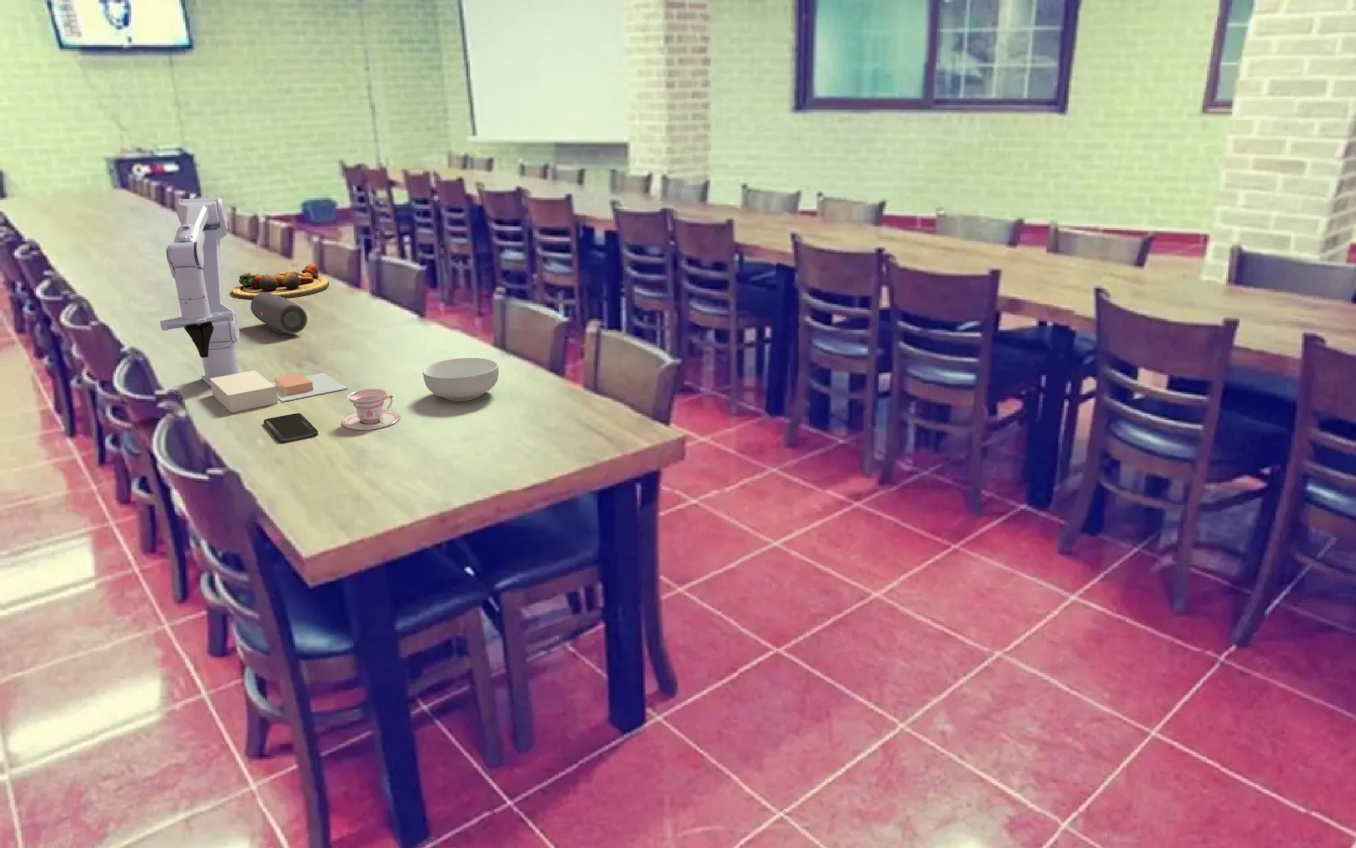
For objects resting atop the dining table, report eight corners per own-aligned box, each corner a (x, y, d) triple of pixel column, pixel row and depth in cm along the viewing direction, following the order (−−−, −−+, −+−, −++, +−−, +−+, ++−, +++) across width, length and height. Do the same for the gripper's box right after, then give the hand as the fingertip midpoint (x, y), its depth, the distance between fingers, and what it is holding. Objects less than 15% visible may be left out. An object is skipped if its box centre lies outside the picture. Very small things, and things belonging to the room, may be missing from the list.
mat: (261, 385, 224) (261, 384, 224) (324, 373, 232) (324, 372, 232) (282, 402, 212) (282, 401, 212) (347, 389, 221) (347, 387, 221)
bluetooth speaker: (251, 326, 279) (245, 293, 275) (282, 320, 284) (277, 288, 281) (278, 340, 263) (273, 305, 259) (311, 334, 269) (306, 300, 265)
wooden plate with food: (311, 277, 348) (307, 255, 346) (343, 290, 325) (340, 266, 322) (220, 291, 329) (216, 268, 326) (248, 306, 306) (243, 281, 303)
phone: (279, 440, 188) (262, 419, 199) (280, 445, 188) (263, 424, 199) (319, 432, 192) (300, 412, 203) (320, 437, 192) (301, 417, 204)
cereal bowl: (493, 381, 226) (490, 353, 223) (506, 402, 211) (504, 372, 209) (421, 389, 220) (418, 361, 218) (430, 411, 205) (427, 381, 203)
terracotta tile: (299, 373, 225) (301, 381, 226) (274, 378, 222) (275, 386, 222) (312, 382, 218) (313, 390, 219) (285, 387, 215) (287, 395, 216)
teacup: (340, 433, 193) (336, 405, 191) (343, 415, 204) (339, 388, 202) (400, 427, 196) (397, 400, 194) (400, 409, 207) (397, 383, 205)
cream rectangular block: (212, 394, 217) (209, 378, 216) (257, 386, 223) (254, 370, 222) (231, 412, 206) (228, 395, 204) (278, 403, 211) (275, 386, 210)
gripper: (160, 304, 198) (172, 366, 203) (232, 295, 207) (243, 354, 211) (153, 299, 203) (165, 359, 208) (224, 290, 212) (234, 348, 217)
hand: (204, 356), depth 210 cm, fingers closed
